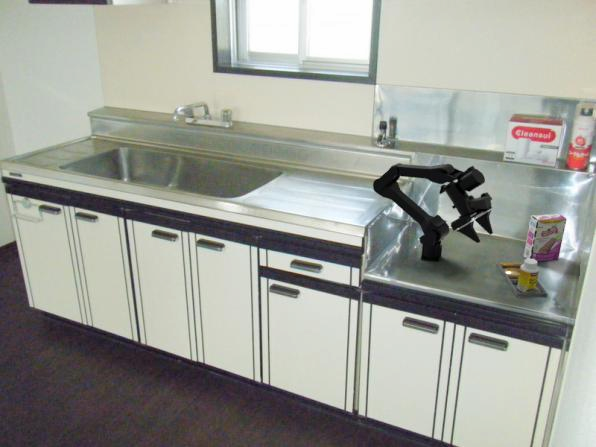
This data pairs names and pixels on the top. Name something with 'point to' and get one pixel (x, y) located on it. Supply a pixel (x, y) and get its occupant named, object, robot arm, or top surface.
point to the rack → (512, 277)
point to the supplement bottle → (528, 276)
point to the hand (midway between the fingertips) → (485, 238)
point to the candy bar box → (544, 237)
